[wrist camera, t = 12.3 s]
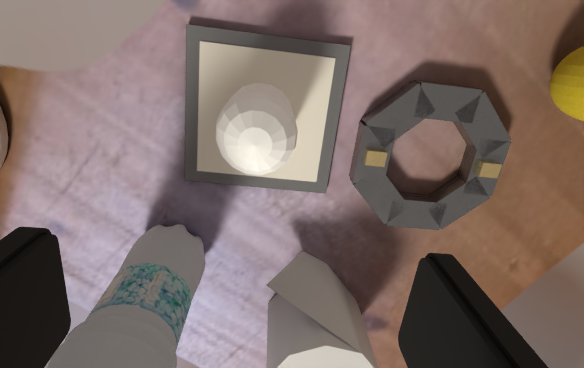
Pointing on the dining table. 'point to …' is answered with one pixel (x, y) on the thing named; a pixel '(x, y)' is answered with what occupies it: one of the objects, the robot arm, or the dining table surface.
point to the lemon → (569, 84)
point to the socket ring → (402, 117)
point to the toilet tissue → (315, 320)
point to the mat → (269, 70)
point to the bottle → (140, 306)
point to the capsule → (257, 129)
